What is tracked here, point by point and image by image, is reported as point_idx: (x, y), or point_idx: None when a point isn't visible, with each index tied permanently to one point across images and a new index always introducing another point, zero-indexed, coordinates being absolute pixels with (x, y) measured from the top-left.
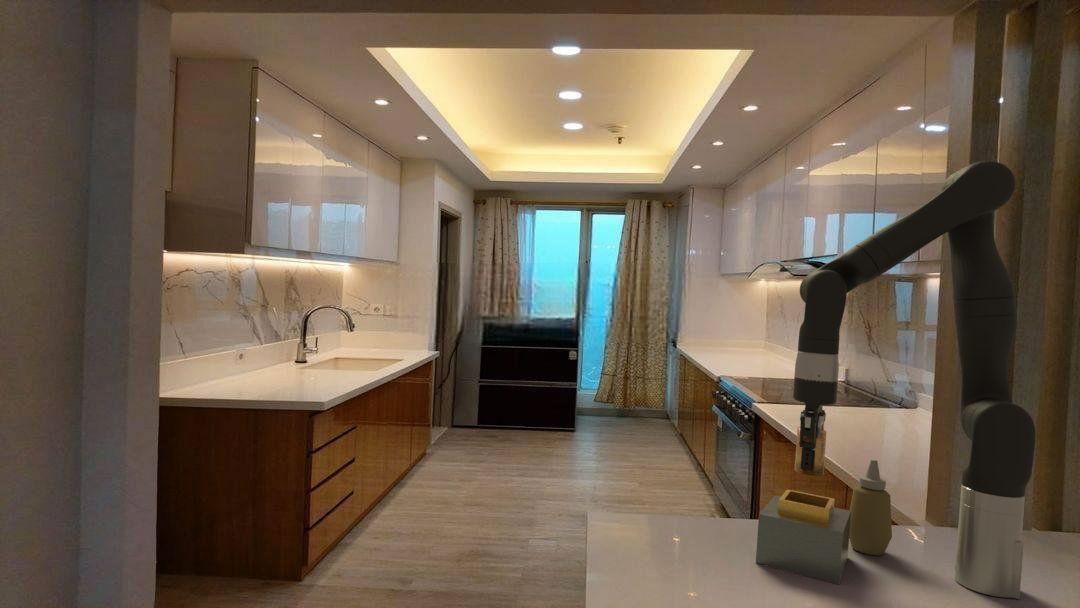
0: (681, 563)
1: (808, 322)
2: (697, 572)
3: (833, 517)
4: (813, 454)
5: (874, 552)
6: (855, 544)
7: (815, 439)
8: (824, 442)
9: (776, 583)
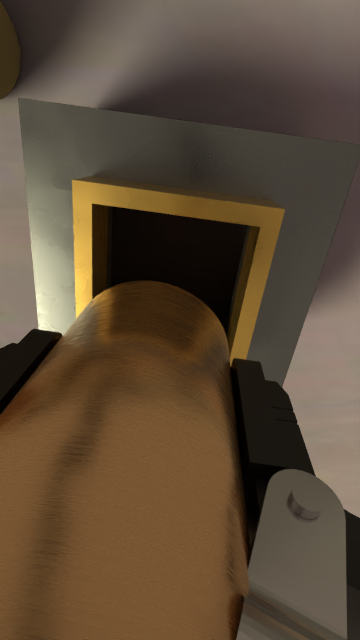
0: (323, 433)
1: None
2: (354, 410)
3: (172, 178)
4: (276, 448)
5: (11, 22)
6: (9, 88)
7: (344, 632)
8: (145, 474)
9: (355, 287)
